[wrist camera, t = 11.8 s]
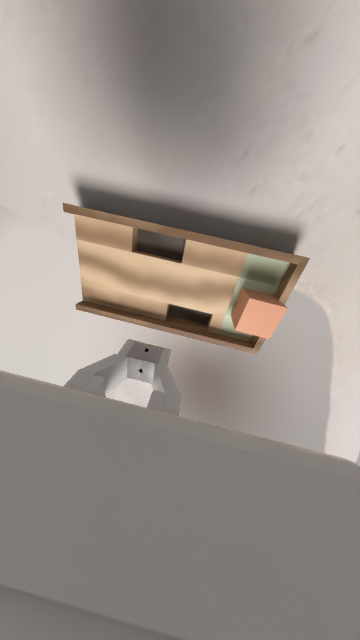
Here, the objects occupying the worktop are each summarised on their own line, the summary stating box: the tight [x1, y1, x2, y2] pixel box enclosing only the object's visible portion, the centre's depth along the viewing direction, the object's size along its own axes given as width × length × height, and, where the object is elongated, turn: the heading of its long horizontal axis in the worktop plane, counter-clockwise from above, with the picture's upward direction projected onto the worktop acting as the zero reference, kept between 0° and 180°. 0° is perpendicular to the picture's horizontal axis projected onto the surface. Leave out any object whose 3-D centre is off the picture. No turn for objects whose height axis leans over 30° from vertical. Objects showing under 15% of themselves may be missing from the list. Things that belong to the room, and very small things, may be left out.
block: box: [231, 287, 288, 339], centre depth 24 cm, size 5×5×5 cm
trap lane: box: [63, 203, 310, 354], centre depth 27 cm, size 16×33×4 cm, turn 79°
